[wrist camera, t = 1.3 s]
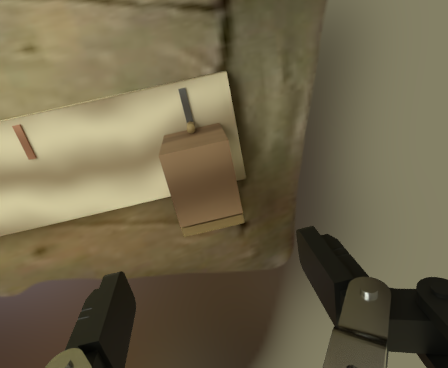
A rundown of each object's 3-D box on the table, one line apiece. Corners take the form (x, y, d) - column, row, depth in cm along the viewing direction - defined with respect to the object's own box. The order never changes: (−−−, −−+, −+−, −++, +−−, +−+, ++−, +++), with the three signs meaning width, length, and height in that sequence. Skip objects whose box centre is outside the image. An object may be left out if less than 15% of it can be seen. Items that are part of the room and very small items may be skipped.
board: (-88, 140, 26) (-111, 146, 24) (223, 70, 27) (226, 71, 25) (-26, 234, 30) (-42, 246, 28) (242, 171, 31) (246, 179, 29)
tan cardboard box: (162, 124, 27) (155, 145, 20) (216, 112, 27) (226, 129, 20) (184, 199, 30) (184, 239, 23) (231, 187, 30) (245, 224, 23)
